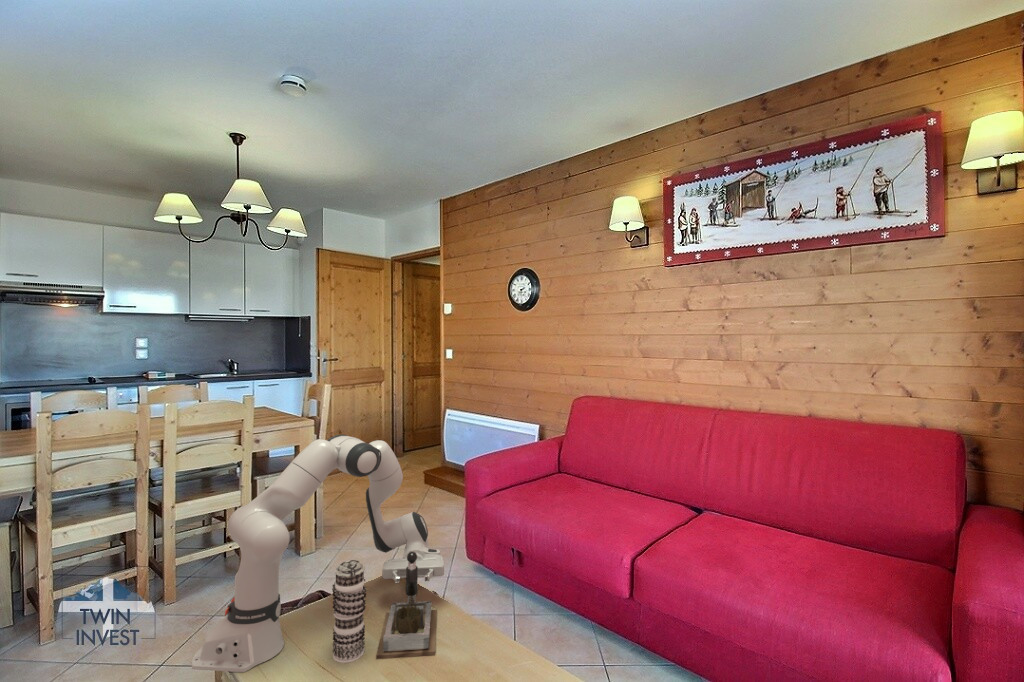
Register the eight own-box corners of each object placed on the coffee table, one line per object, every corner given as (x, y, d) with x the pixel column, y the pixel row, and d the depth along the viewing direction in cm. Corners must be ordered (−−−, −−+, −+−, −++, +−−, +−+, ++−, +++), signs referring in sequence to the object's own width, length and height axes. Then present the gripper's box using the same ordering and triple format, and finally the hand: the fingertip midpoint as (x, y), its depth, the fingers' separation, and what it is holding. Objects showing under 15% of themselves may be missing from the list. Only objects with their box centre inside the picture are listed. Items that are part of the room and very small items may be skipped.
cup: (415, 648, 140) (415, 620, 140) (391, 644, 141) (391, 616, 141) (424, 632, 147) (425, 606, 147) (401, 629, 149) (402, 603, 149)
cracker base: (376, 659, 135) (376, 637, 135) (386, 615, 156) (386, 596, 156) (434, 655, 137) (435, 633, 137) (436, 612, 158) (437, 594, 158)
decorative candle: (328, 648, 139) (330, 560, 139) (362, 639, 143) (363, 554, 143) (333, 667, 131) (334, 574, 131) (369, 657, 135) (370, 567, 135)
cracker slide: (383, 651, 136) (384, 582, 136) (391, 610, 157) (392, 550, 157) (428, 648, 138) (429, 580, 138) (431, 608, 158) (432, 548, 158)
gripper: (384, 552, 168) (378, 571, 155) (444, 549, 171) (444, 568, 157) (384, 570, 168) (378, 591, 155) (444, 568, 171) (443, 587, 157)
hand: (412, 579), depth 156 cm, fingers open, 8 cm apart
